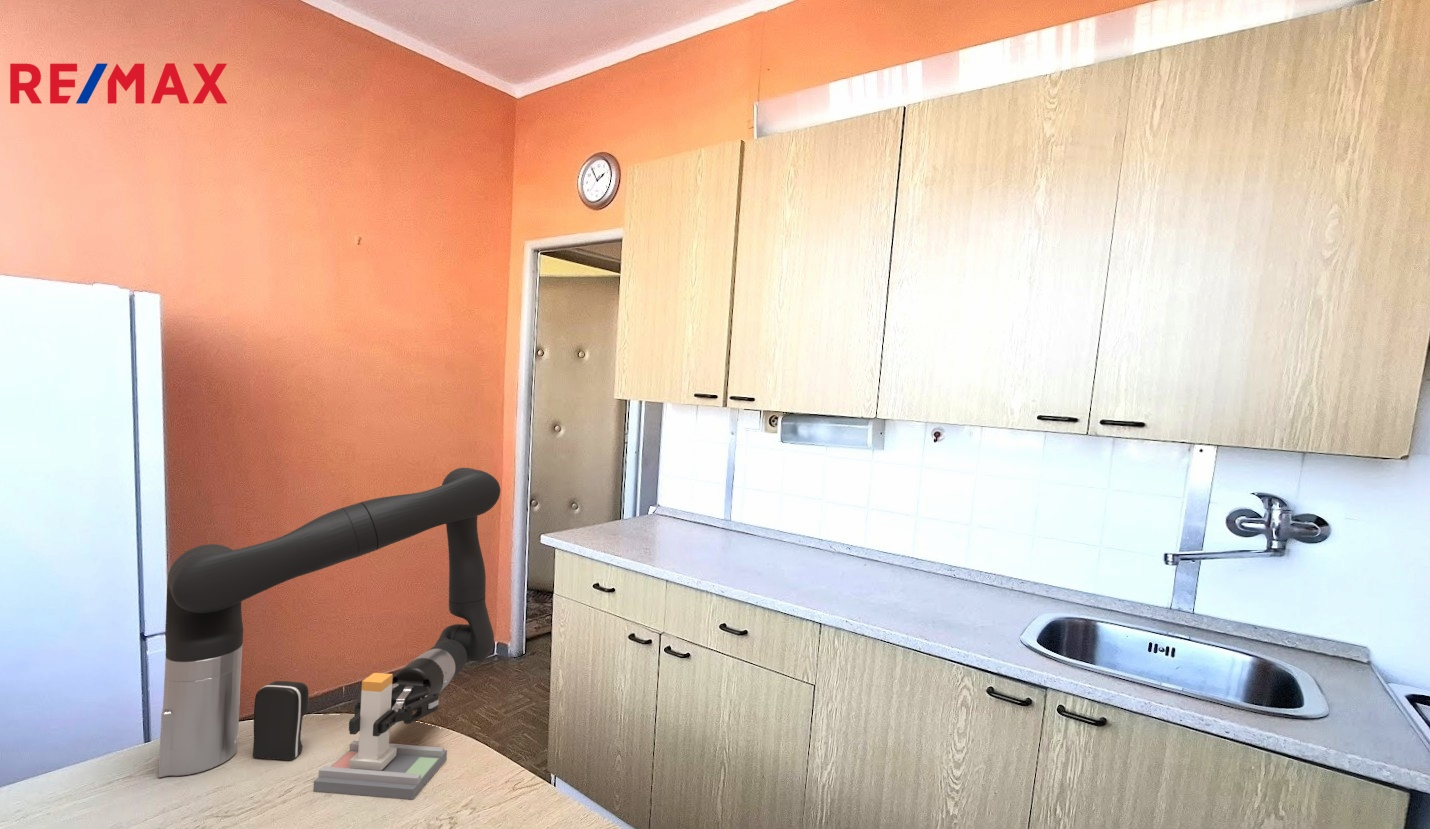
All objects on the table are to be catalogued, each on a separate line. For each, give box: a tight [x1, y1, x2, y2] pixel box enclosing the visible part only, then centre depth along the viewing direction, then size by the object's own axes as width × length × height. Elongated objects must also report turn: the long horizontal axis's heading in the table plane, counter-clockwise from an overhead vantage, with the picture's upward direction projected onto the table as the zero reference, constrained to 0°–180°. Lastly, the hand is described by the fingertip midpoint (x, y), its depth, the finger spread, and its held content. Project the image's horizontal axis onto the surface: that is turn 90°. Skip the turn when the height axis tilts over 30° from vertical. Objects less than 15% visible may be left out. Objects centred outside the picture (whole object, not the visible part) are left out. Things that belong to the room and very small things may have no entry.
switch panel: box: [312, 740, 448, 800], centre depth 92 cm, size 15×10×2 cm, turn 88°
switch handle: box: [349, 672, 397, 771], centre depth 92 cm, size 5×4×13 cm
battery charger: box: [252, 680, 310, 761], centre depth 96 cm, size 7×4×11 cm, turn 89°
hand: (364, 729), depth 89 cm, fingers closed on switch handle, 3 cm apart
